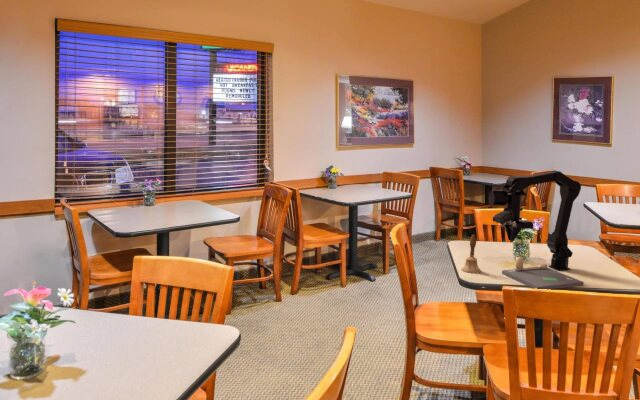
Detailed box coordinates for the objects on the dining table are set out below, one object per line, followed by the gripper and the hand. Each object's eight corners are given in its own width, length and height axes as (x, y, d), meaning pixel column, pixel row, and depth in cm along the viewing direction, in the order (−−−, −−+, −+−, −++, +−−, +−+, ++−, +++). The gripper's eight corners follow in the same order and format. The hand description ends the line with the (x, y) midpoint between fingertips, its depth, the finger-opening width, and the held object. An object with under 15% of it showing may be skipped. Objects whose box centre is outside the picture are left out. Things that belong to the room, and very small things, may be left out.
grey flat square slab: (544, 269, 224) (544, 266, 224) (583, 285, 204) (583, 281, 203) (501, 273, 218) (502, 270, 218) (537, 290, 197) (537, 286, 197)
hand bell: (477, 267, 227) (479, 232, 224) (483, 273, 219) (485, 237, 216) (458, 267, 227) (460, 232, 224) (464, 273, 218) (466, 236, 216)
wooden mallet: (542, 266, 223) (543, 254, 223) (548, 268, 220) (549, 256, 219) (511, 269, 219) (512, 257, 218) (516, 271, 215) (517, 259, 214)
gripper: (484, 203, 225) (481, 237, 228) (514, 210, 208) (511, 247, 211) (504, 201, 229) (501, 235, 232) (535, 208, 212) (532, 245, 215)
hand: (511, 240), depth 222 cm, fingers closed
